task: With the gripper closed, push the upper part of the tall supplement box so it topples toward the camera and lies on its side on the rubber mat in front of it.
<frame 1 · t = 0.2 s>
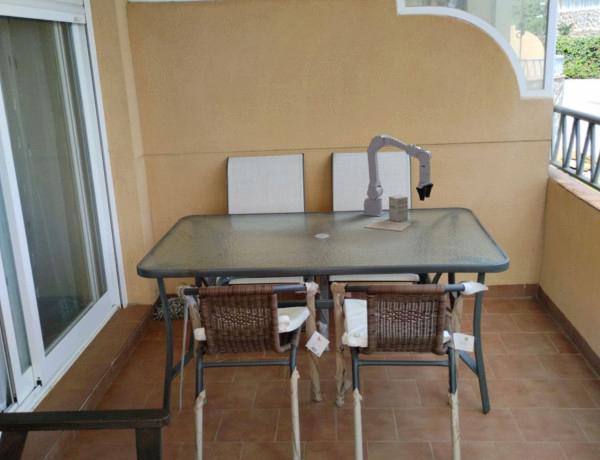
hand: (424, 199, 317), 10 cm above the table, tool pointing down, fingers open, 7 cm apart
supplement box: (398, 220, 319), on the table
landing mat: (388, 225, 308), on the table
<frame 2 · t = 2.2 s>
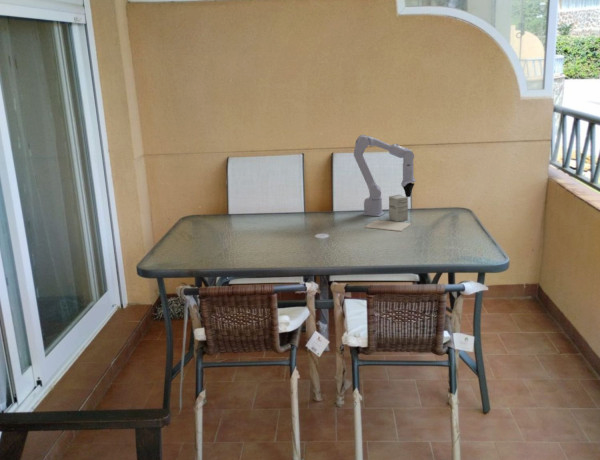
hand: (408, 196, 327), 9 cm above the table, tool pointing down, fingers closed
nothing on the table moved.
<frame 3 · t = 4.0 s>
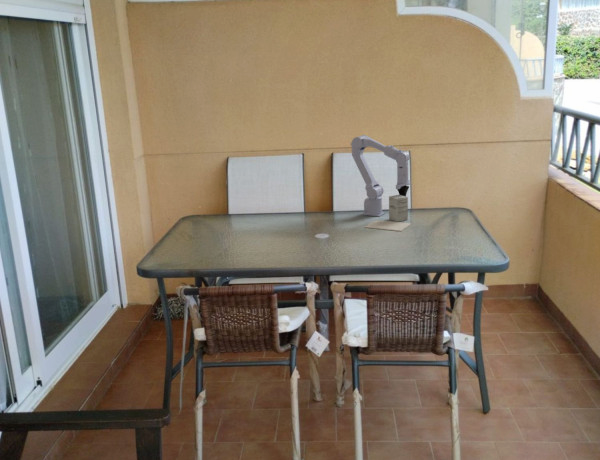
hand: (402, 199, 321), 9 cm above the table, tool pointing down, fingers closed, pressing on supplement box
supplement box: (398, 220, 319), on the table, touching gripper
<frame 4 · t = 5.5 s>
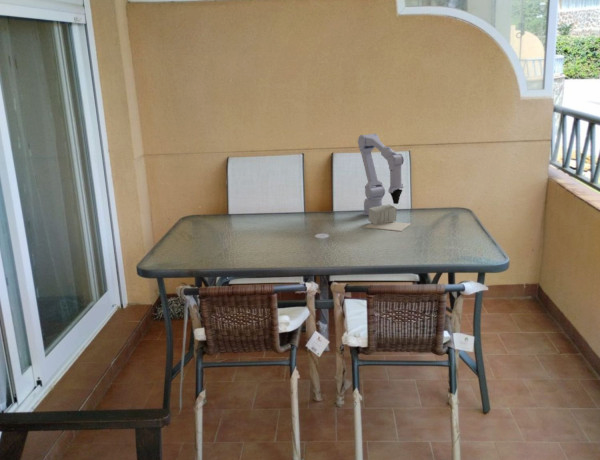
hand: (395, 203, 313), 9 cm above the table, tool pointing down, fingers closed
supplement box: (393, 212, 315), point 5 cm above the table, touching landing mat
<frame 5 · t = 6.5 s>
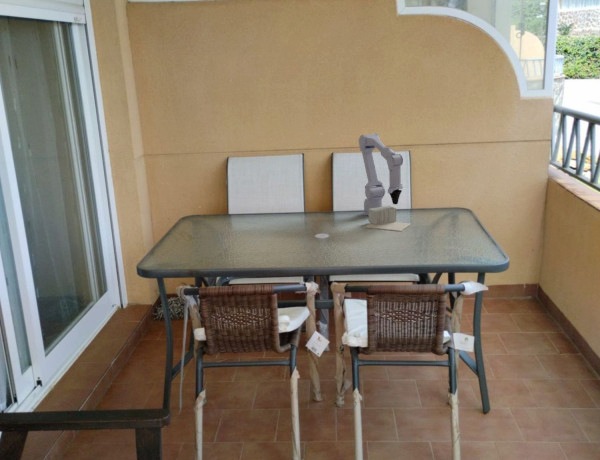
hand: (395, 204, 313), 9 cm above the table, tool pointing down, fingers closed
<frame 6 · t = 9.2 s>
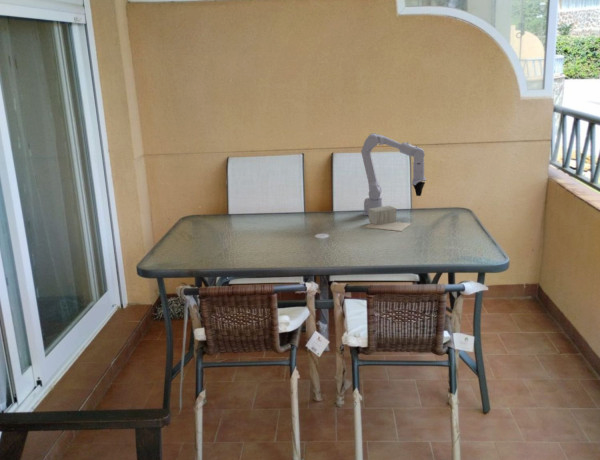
hand: (418, 195, 324), 10 cm above the table, tool pointing down, fingers closed
nothing on the table moved.
at the end: supplement box tilted 90°; supplement box touching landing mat; supplement box inside the target area (2.0 cm from its centre), point 4.0 cm above the table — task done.
